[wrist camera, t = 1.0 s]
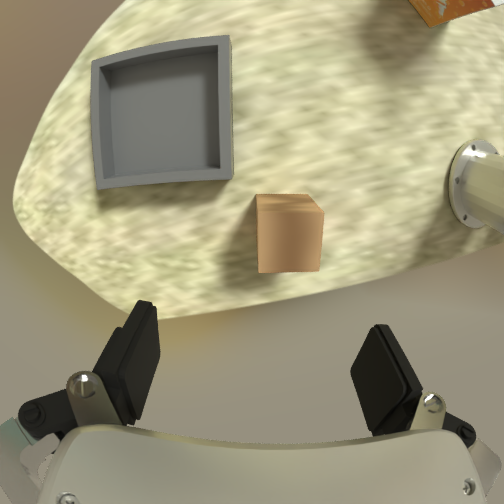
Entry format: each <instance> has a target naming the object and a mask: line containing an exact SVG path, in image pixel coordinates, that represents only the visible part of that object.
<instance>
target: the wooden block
mask: <svg viewBox="0 0 504 504" xmlns="http://www.w3.org/2000/svg"><path fill="white" fill-rule="evenodd" d="M323 223H324V212H323V211H322V210H321V209H320V207H319V206H318V205H317V204H316V203H315V202H314V201H313V200H312V198H311V197H310V196H309V195H308V194H256V232H257V257H258V273H276V272H315V271H319V267H320V258H321V247H322V236H323Z"/></svg>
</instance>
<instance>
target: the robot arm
mask: <svg viewBox="0 0 504 504" xmlns="http://www.w3.org/2000/svg"><path fill="white" fill-rule="evenodd" d="M449 198H450V203H451V207H452V209H453V212H454V214H455V215H456V217H457V219H458V220H459V221H460V222H461V223H463V224H464V225H466V226H468V227H471V228H480V227H483V226H484V225H488V226H489V227H491V228H493V229H495V230H496V231H498V232H500V233H501V234H503V235H504V156H501V155H499V153H498V151H497V150H496V148H495V147H494V146H493V145H492V144H491V143H489V142H487V141H485V140H481V139H473V140H470V141H468V142H466V143H465V144H464V145H463V146H462V147H461V148H460V149H459V151H458V152H457V154H456V156H455V158H454V161H453V163H452V167H451V171H450V177H449ZM159 359H160V344H159V333H158V321H157V308H156V306H153V305H152V302H148V301H142V300H138V301H137V303H136V305H135V306H134V308H133V310H132V312H131V313H130V315H129V317H128V319H127V321H126V322H125V324H124V326H123V328H121V327H117V328H116V329H115V330H114V332H113V335H112V336H111V337H110V339H109V341H108V343H107V345H106V346H105V348H104V350H103V352H102V354H101V356H100V357H99V359H98V361H97V363H96V365H95V367H94V369H93V371H92V372H90V371H79V372H77V373H74V374H73V375H72V376H70V378H69V379H68V381H67V384H66V389H64V390H61V391H58V392H55V393H52V394H49V395H46V396H43V397H39V398H36V399H33V400H30V401H28V402H26V403H24V404H23V405H22V406H21V408H20V409H19V413H18V417H17V418H16V419H14V418H13V417H12V418H10V419H9V420H7V421H6V422H4V423H3V424H2V425H1V426H0V486H1V487H2V489H3V490H4V492H5V494H6V495H7V497H8V498H9V499H10V501H11V502H12V504H487V501H486V496H487V494H488V492H489V490H490V489H491V487H492V485H493V483H494V481H495V480H496V478H497V476H498V474H499V472H500V470H501V460H500V458H499V457H498V456H497V455H496V454H495V453H494V452H493V451H492V450H491V449H490V448H489V447H488V446H487V445H485V444H484V443H483V442H482V441H481V440H480V439H477V440H476V432H475V430H474V428H473V427H472V426H471V425H470V424H468V423H467V422H465V421H463V420H461V419H459V418H457V417H455V416H453V415H451V414H449V413H447V412H446V404H445V401H444V400H443V398H442V397H441V396H440V395H438V394H437V393H434V392H426V393H424V394H422V392H421V391H422V390H423V388H422V386H421V384H420V382H419V380H418V378H417V376H416V374H415V372H414V370H413V368H412V367H411V365H410V363H409V361H408V359H407V357H406V356H405V354H404V352H403V350H402V349H401V347H400V345H399V343H398V341H397V340H396V338H395V336H394V334H393V333H392V331H391V329H390V328H389V326H388V325H383V324H378V325H377V324H376V325H375V326H374V327H372V328H371V329H370V331H369V333H368V335H367V337H366V339H365V341H364V343H363V346H362V347H361V349H360V351H359V353H358V355H357V358H356V359H355V361H354V363H353V365H352V367H351V371H350V372H351V377H352V380H353V383H354V386H355V389H356V392H357V395H358V398H359V401H360V404H361V408H362V411H363V414H364V417H365V420H366V424H367V427H368V429H369V431H371V432H372V435H373V437H368V438H361V439H353V440H344V441H334V442H322V443H303V444H302V443H301V444H261V443H240V442H226V441H217V440H208V439H200V438H193V437H186V436H179V435H173V434H167V433H162V432H157V431H152V430H146V429H141V428H136V427H129V426H127V424H130V425H134V424H135V421H136V419H137V420H140V418H141V415H142V412H143V408H144V405H145V402H146V399H147V396H148V392H149V389H150V386H151V383H152V380H153V377H154V374H155V371H156V368H157V365H158V362H159ZM49 454H54V455H53V457H52V459H51V462H50V464H49V466H48V469H47V472H46V475H45V477H44V480H43V483H42V482H41V480H40V478H39V477H38V468H39V466H40V465H41V463H43V462H44V461H45V460H46V459H45V457H46V456H48V455H49Z"/></svg>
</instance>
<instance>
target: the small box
mask: <svg viewBox="0 0 504 504" xmlns="http://www.w3.org/2000/svg"><path fill="white" fill-rule="evenodd" d="M409 2H410V3H411V4H412V5H413V6H414V8H415V9H416V10H417V11H418V13H419V14H420V15H421V17H422V18H423V19H424V21H425V22H426V24H427V25H428V26H429V28H432V27H435V26H437V25H440V24H442V23H445V22H448V21H451V20H454V19H456V18H459V17H462V16H465V15H468V14H472V13H475V12H478V11H482V10H485V9H489V8H493V7H496V6H499V5H503V4H504V0H409Z"/></svg>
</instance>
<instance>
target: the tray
mask: <svg viewBox="0 0 504 504" xmlns="http://www.w3.org/2000/svg"><path fill="white" fill-rule="evenodd" d="M91 131H92V147H93V159H94V169H95V177H96V185H97V190H100V189H108V188H116V187H125V186H135V185H145V184H157V183H169V182H184V181H201V180H224V179H232V178H233V175H234V157H233V113H232V45H231V41H230V36H229V35H223V36H210V37H200V38H191V39H183V40H177V41H170V42H164V43H159V44H154V45H149V46H144V47H140V48H136V49H131V50H127V51H124V52H120V53H116V54H113V55H109V56H106V57H103V58H100V59H96V60H93V61H92V65H91Z"/></svg>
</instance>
